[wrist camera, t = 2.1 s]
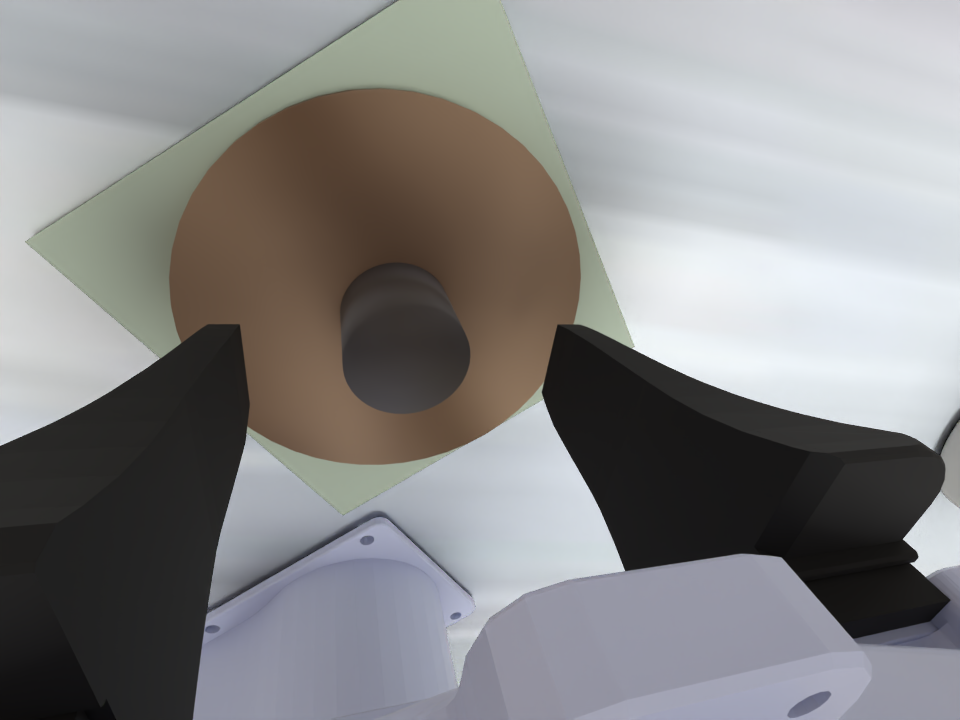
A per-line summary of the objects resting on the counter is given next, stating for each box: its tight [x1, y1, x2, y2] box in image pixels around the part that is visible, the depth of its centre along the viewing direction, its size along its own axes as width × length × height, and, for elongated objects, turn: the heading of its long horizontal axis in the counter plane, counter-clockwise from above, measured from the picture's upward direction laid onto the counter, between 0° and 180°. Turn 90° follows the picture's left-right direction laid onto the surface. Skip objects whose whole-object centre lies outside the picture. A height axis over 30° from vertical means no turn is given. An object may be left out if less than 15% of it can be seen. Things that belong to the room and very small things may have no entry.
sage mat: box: [25, 0, 634, 515], centre depth 15 cm, size 12×12×1 cm
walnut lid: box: [169, 88, 581, 465], centre depth 13 cm, size 11×11×3 cm
